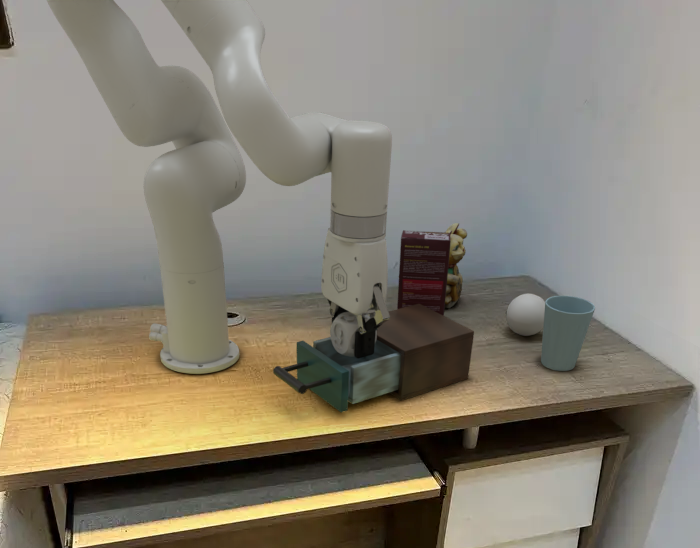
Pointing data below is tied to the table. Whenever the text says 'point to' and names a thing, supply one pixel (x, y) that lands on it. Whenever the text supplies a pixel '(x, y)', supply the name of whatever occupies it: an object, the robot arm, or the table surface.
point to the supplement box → (423, 269)
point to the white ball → (526, 314)
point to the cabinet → (426, 349)
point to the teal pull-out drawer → (342, 373)
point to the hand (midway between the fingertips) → (352, 347)
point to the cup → (564, 330)
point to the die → (345, 333)
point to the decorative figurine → (455, 264)
